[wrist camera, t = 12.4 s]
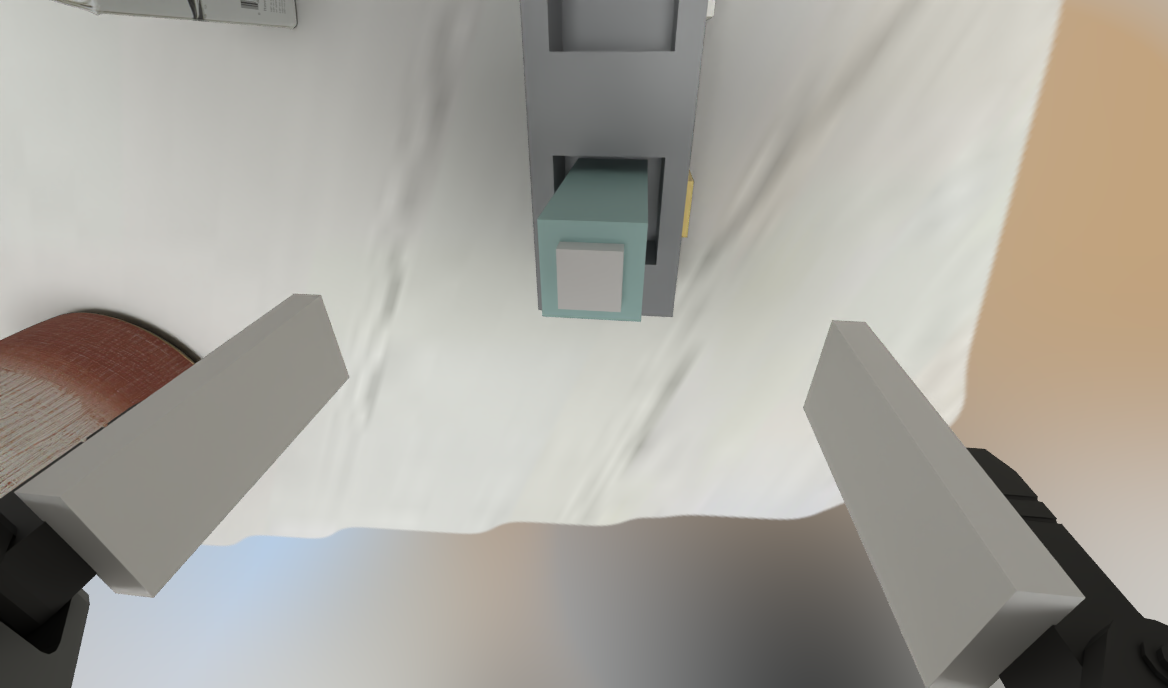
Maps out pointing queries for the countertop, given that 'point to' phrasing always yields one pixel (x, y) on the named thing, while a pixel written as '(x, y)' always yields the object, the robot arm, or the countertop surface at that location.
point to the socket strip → (617, 109)
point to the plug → (595, 241)
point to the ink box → (199, 10)
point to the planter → (73, 385)
